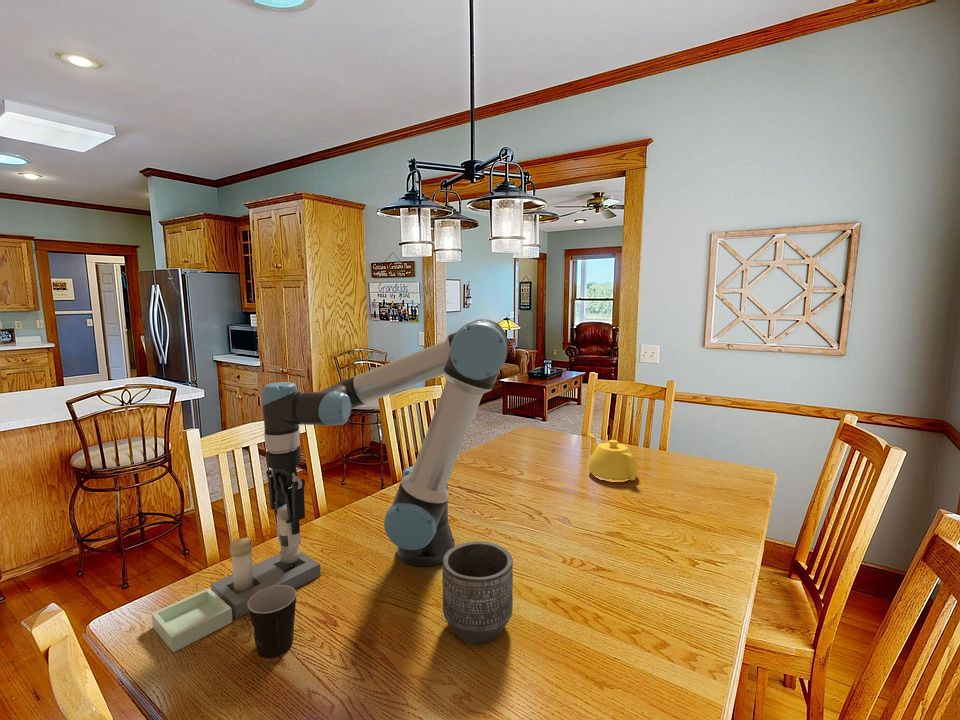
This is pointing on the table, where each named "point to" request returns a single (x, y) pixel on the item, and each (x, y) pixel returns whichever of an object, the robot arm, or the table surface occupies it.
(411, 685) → the table surface
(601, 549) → the table surface
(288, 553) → the cylinder
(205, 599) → the parts tray
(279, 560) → the grey socket holder
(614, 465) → the teapot
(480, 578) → the planter
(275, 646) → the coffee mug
